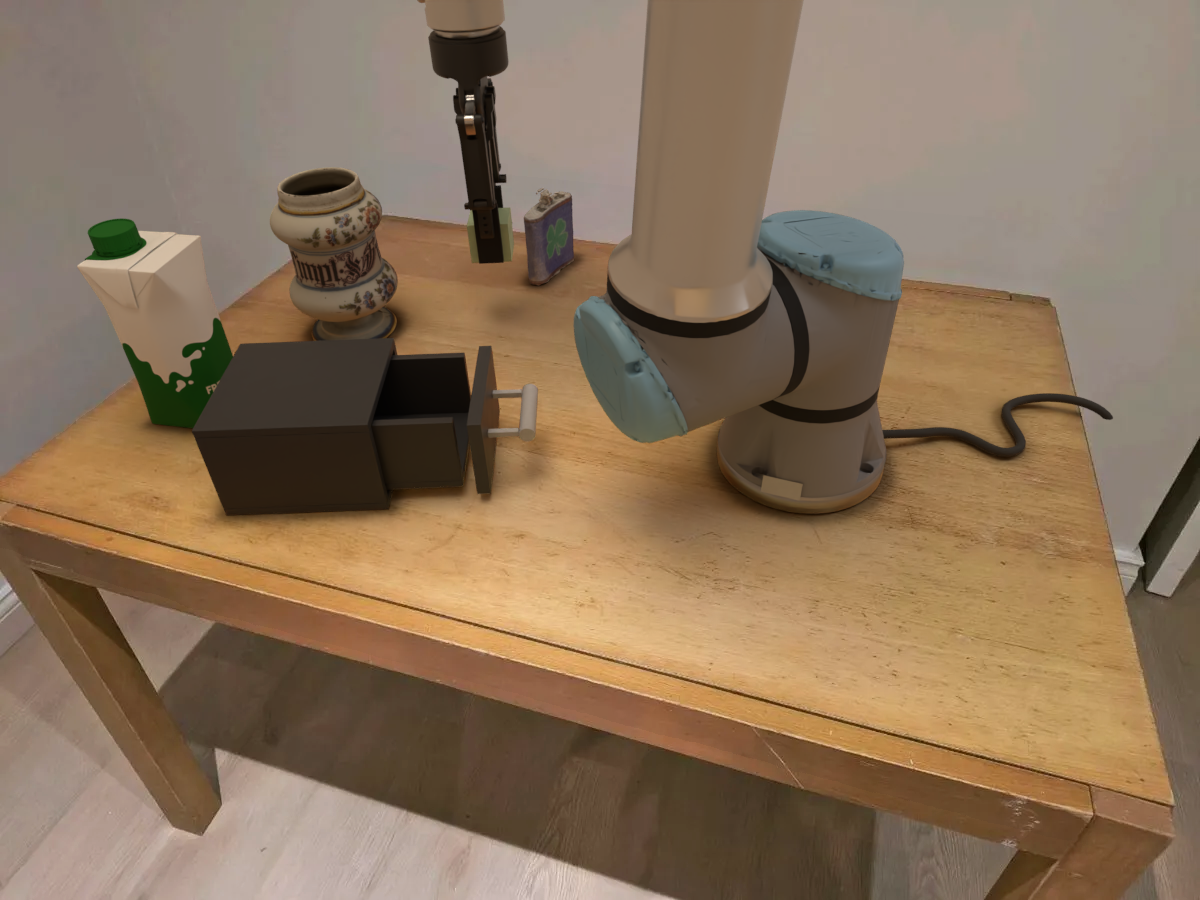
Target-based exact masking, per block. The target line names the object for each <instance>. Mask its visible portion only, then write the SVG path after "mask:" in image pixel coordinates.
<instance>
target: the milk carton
mask: <svg viewBox="0 0 1200 900" xmlns="http://www.w3.org/2000/svg"><path fill="white" fill-rule="evenodd" d="M87 235H88V238H89V240H90V242H91V245H92V248H93V251H92V252H91V254H90V255H88V256H86V257H85V258H84V261H82V262H80V263H79V264H77V265H76V266H77V268H76V269H78V271H79V272H80V274H81V275H82V276H83V278H84V279H85V281H86V283H88V285H89V286H90V288H91V289H92V291H93V292H94V293H95V295H96V297H97V298H98V300H99V301H100V303H101V304H102V305H103V307H104V309H105V310H106V313H107V315H108V317H109V320H110V323H111V324H112V327H113V328H114V329H113V330H114V331H115V333H116V336H117V338H118V340H119V342H120V345H121V347H122V349H123V352H124V354H125V356H126V359H127V361H128V363H129V365H130V367H131V370H132V372H133V374H134V376H135V379H136V381H137V383H138V386H139V390H140V392H141V395H142V398H143V402H144V404H145V407H146V411H147V413H148V416H149V418H150V421H151V424H153V425H162V426H170V427H179V428H187V429H193V428H194V426H195V424H196V422H197V421H198V419H199V417H200V415H201V413H202V412H203V410H204V408H205V406H206V404H207V403H208V401H209V399H210V397H211V395H212V394H213V392H214V390H215V388H216V387H217V385H218V383H219V381H220V379H221V378H222V376H223V374H224V372H225V370H226V369H227V367H228V365H229V363H230V361H231V360H232V358H233V356H234V354H233V352H232V349H231V346H230V343H229V339H228V338H227V337H228V336H227V334H226V332H225V329H224V326H223V323H222V320H221V318H220V314H219V311H218V307H217V305H216V302H215V300H214V296H213V294H212V292H211V288H210V285H209V281H208V277H207V271H206V264H205V257H204V252H203V251H204V249H203V244H202V237H201V235H196V234H195V235H194V234H181V233H180V234H178V233H177V232H174V231H151V230H150V231H149V230H139V229H138V227H137V225H136V222H135V221H134V220H132V219H130V218H111V219H107V220H103V221H99V222H98V223H95V224H93V225H92V226H91V227H89V229H88V230H87Z"/></svg>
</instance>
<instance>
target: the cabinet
mask: <svg viewBox="0 0 1200 900" xmlns="http://www.w3.org/2000/svg"><path fill="white" fill-rule="evenodd" d="M392 355H398V351H397V346H396V341H395V338H394V337H387V338H379V339H352V340H325V341H314V340H307V341H306V340H303V341H301V340H299V341H275V342H274V341H273V342H251V343H250V342H248V343H247V342H246V343H240V344H239V346H238V348H237V349H236V351H235V352H234V354H233V358H232V360H231V361H230V363H229V365H228V367H227V369H226V370H225V372H224V374H223V376H222V378H221V379H220V381H219V383H218V385H217V387H216V388H215V390H214V392H213V394H212V395H211V397H210V399H209V401H208V403H207V404H206V406H205V408H204V410H203V412H202V413H201V415H200V417H199V419H198V421H197V422H196V424H195V426H194V428H192V430H191V433H192V435H193V438H194V441H195V444H196V445H197V449H198V450H199V453H200V455H201V458H202V461H203V462H204V465H205V468H206V470H207V473H208V475H209V477H210V479H211V482H212V485H213V487H214V489H215V492H216V494H217V497H218V499H219V502H220V504H221V506H222V508H223V511H224V514H225V516H244V515H245V516H247V515H248V516H249V515H250V516H251V515H275V514H276V515H277V514H299V513H325V512H328V513H329V512H352V511H353V512H356V511H381V510H383V511H384V510H389V509H390V506H391V505H390V504H391V501H392V497H393V492H394V489H390V490H386V486H385V482H384V478H383V473H382V469H381V465H380V461H379V457H378V453H377V449H376V445H375V441H374V437H373V433H372V429H371V424H372V420H373V417H374V414H375V410H376V407H377V404H378V400H379V397H380V394H381V390H382V387H383V384H384V380H385V377H386V374H387V370H388V367H389V364H390V360H391V357H392Z"/></svg>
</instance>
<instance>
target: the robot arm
mask: <svg viewBox="0 0 1200 900" xmlns="http://www.w3.org/2000/svg"><path fill="white" fill-rule="evenodd" d="M416 1H417V2H418V3H419V4H425V7H424V14H425V20H426V26H427V27H428V28H429V29H431V30H432V31H431V32H430V34H429V35H428V46H429V51H430V59H431V64H432V65H431V66H432V71H433V72H434V73H435V74H436V75H437V76H438V77H440V78H443V79H448V80H449V79H451V80H454V81H456V82H457V87H455V94H453V95H452V103H453V110H454V113H455V115H456V116H455V119H454V120H455V125H456V128H457V133H458V137H459V138H458V139H459V143H460V151H461V158H462V165H463V173H464V180H465V188H466V194H467V202H464V204H463V208H464V210H465V211H466V210H469V211H470V210H472V213H473V221H474V228H475V236H476V243H477V251H478V258H479V263H478V264H479V265H483V264H485V265H486V264H503V263H505V262H504V256H503V247H502V238H501V229H500V220H499V211H498V208H504V202H503V192H502V184H507V174H506V173H501V174H500V172H501V169H502V163H500V154H499V153H500V152H499V142H498V134H497V133H498V132H497V112H496V101H497V99H496V98H497V94H496V87H495V85H494V83H493V80H492V78H491V77H495V76H497V75H500V74H501V73H503V72H505V71H506V70H507V68H508V67H509V53H508V42H507V32H506V30H505V29H504V28H503V27H502V26H501V25H502V24H503V23H504V22H505V21H506V14H505V4H504V0H416ZM803 5H804V0H647V5H646V21H645V32H644V33H645V35H644V49H643V63H642V78H641V92H640V94H641V95H640V106H639V107H640V108H639V121H638V135H637V136H638V137H637V149H636V150H637V151H636V162H635V163H636V164H635V177H634V179H635V180H634V190H633V191H634V194H633V205H632V206H633V207H632V220H631V222H632V223H631V234H629V235H628V236H626V237H625V238H623V239H622V240H621V241H620V242H618V244H616V246H614V248H613V249H612V250H611V253H610V254H609V258H608V261H607V271H606V272H607V273H606V274H607V275H606V291H605V293H604V294H603V295H599V296H597V295H591V296H589V298H588V299H587V300H585V301H583V302H582V303H581V304H580V305H578V306H577V307H576V309H575V312H574V315H573V323H572V325H573V337H574V343H575V347H576V351H577V355H578V359H579V361H580V364H581V367H582V369H583V373H584V375H585V377H586V380H587V382H588V384H589V387H590V388H591V391H592V392H593V395H594V397H595V398H596V401H597V402H598V404H599V405H600V407H601V408H602V410H603V412H604V413H605V415H606V416H607V418H608V419H609V420H610V422H611V423H612V424H613V425H614V427H616V428H617V429H618V430H619V431H620V432H621V433H622V434H623V435H624V436H626V437H627V438H629V439H631V440H632V441H635V442H638V443H640V444H647V443H648V444H653V443H657V442H660V441H663V440H667V439H670V438H674V437H684V436H685V435H686V436H687V435H688V433H690V432H693V431H695V430H697V429H700V428H702V427H706V426H708V425H710V424H713V423H716V422H718V421H721V420H723V422H722V423H721V425H720V427H719V430H718V434H717V446H716V460H717V464H718V467H719V470H720V472H721V473H722V475H723V477H724V478H725V479H726V481H727V482H728V483H729V484H730V485H731V486H732V487H733V488H734V489H735V490H737V491H738V492H739V493H741V494H742V495H743V496H745V497H747V498H748V499H749V500H751V501H754V502H756V503H758V504H761V505H763V506H765V507H769V508H772V509H775V510H779V511H783V512H788V513H794V514H795V513H796V514H806V515H807V514H809V515H810V514H815V515H816V514H828V513H833V512H834V513H835V512H838V511H842V510H846V509H849V508H852V507H854V506H856V505H858V504H860V503H862V502H863V501H865V500H866V499H867V498H869V497H870V496H871V495H872V494H873V493H874V492H875V491H876V490H877V488H878V487H879V486H880V484H881V481H882V478H883V475H884V470H885V466H886V461H887V456H888V455H887V448H886V443H885V440H887V439H889V440H891V439H917V438H919V439H921V438H929V437H948V438H954V439H959V440H961V441H964V442H967V443H968V444H971V445H973V446H975V447H977V448H978V449H981V450H982V451H984V452H986V453H989V454H991V455H994V456H997V457H1002V458H1011V457H1015V456H1018V455H1020V454H1022V453H1023V452H1024V451H1025V449H1026V446H1027V440H1026V438H1025V437H1026V436H1025V435H1024V434H1023V432H1022V429H1021V428H1020V426H1019V425H1018V424H1017V422H1016V421H1015V419H1014V417H1013V414H1012V409H1014V408H1016V407H1019V406H1023V405H1027V404H1035V403H1061V404H1068V405H1073V406H1077V407H1081V408H1084V409H1087V410H1089V411H1090V412H1093V413H1095V414H1096V415H1098V416H1099V417H1101V418H1102V419H1103V420H1106V421H1112V420H1113V419H1114V416H1113V415H1112V413H1111V412H1110V411H1109V410H1108V409H1107V408H1105V407H1104V406H1103V405H1101V404H1099V403H1097V402H1095V401H1092V400H1090V399H1087V398H1084V397H1080V396H1076V395H1071V394H1067V393H1051V392H1046V393H1044V392H1043V393H1042V392H1041V393H1033V394H1026V395H1025V394H1024V395H1022V396H1021V395H1020V396H1017V397H1015V398H1011V399H1009V400H1008V401H1007V402H1005V403H1004V404H1003V405H1002V407H1001V411H1000V413H1001V418H1002V420H1003V423H1004V424H1005V425H1006V427H1007V429H1008V430H1009V431H1010V433H1011V435H1012V436H1013V439H1014V441H1015V445H1014V446H1011V447H1002V446H998V445H995V444H993V443H991V442H989V441H987V440H985V439H983V438H982V437H979V436H977V435H975V434H973V433H970V432H968V431H965V430H963V429H959V428H954V427H947V426H946V427H945V426H935V427H923V428H897V429H896V428H894V429H893V428H892V429H883V427H882V421H881V417H880V416H881V415H880V409H879V403H878V397H879V391H880V386H881V381H882V378H883V374H884V369H885V364H886V360H887V356H888V351H889V347H890V342H891V337H892V333H893V328H894V324H895V320H896V317H897V316H896V315H897V311H898V306H899V302H900V300H901V298H902V294H903V289H902V281H903V274H904V267H905V259H904V252H903V250H902V248H901V246H900V244H899V243H898V242H897V240H895V239H894V237H892V235H890V234H889V233H887V232H886V231H884V230H883V229H881V228H879V227H877V226H875V225H874V224H871V223H869V222H867V221H864V220H861V219H859V218H855V217H851V216H848V215H844V214H839V213H836V212H835V213H834V212H829V211H821V210H810V209H800V210H799V209H796V210H795V209H794V210H785V211H780V212H775V213H772V214H769V215H767V216H766V217H764V212H765V206H766V201H767V197H768V191H769V186H770V180H771V174H772V170H773V165H774V159H775V153H776V149H777V143H778V138H779V133H780V128H781V122H782V118H783V117H782V116H783V112H784V106H785V101H786V95H787V90H788V85H789V81H790V74H791V69H792V64H793V60H794V59H793V58H794V54H795V49H796V42H797V38H798V32H799V27H800V21H801V18H802V17H801V15H802V12H803ZM497 184H499V185H497ZM500 184H501V185H500ZM763 217H764V218H763Z"/></svg>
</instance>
